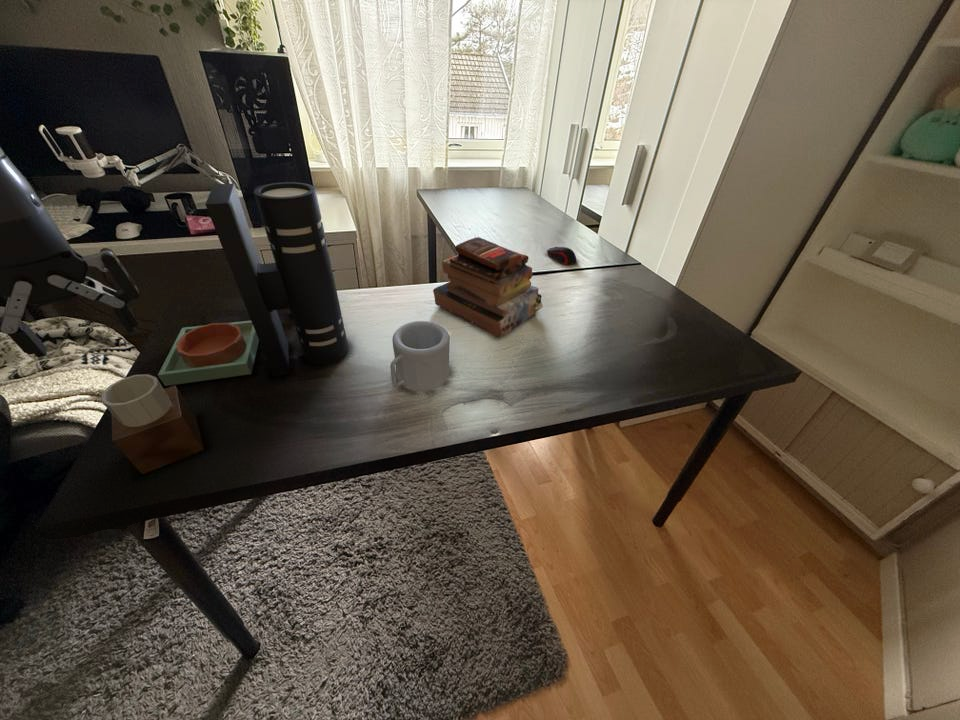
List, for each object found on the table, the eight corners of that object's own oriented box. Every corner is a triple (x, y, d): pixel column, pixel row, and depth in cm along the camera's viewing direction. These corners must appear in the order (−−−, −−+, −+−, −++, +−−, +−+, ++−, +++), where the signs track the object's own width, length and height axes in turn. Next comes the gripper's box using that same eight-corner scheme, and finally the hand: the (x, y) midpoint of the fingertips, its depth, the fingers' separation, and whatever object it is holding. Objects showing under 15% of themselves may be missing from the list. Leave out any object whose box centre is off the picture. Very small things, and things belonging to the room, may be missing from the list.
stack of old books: (543, 314, 98) (555, 252, 87) (502, 344, 86) (510, 277, 76) (476, 284, 108) (480, 225, 97) (432, 307, 97) (430, 243, 86)
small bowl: (120, 433, 52) (101, 411, 49) (118, 406, 56) (101, 384, 53) (173, 415, 55) (158, 393, 52) (169, 390, 59) (155, 369, 56)
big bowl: (188, 377, 71) (180, 362, 69) (181, 347, 78) (173, 333, 76) (252, 357, 77) (246, 343, 74) (240, 331, 83) (234, 317, 81)
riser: (142, 474, 56) (111, 441, 51) (139, 439, 61) (111, 405, 56) (204, 449, 60) (181, 416, 55) (196, 418, 65) (175, 385, 60)
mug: (421, 351, 83) (419, 313, 76) (460, 372, 78) (461, 333, 72) (374, 384, 74) (368, 344, 67) (415, 409, 69) (412, 368, 63)
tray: (251, 374, 74) (246, 363, 72) (164, 386, 70) (157, 375, 68) (261, 330, 85) (257, 319, 84) (187, 338, 82) (181, 327, 80)
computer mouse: (557, 250, 131) (560, 239, 128) (579, 262, 124) (582, 251, 121) (544, 253, 128) (546, 242, 126) (565, 266, 121) (568, 254, 119)
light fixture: (351, 362, 79) (317, 198, 58) (273, 377, 74) (205, 204, 53) (345, 334, 86) (313, 179, 65) (273, 346, 81) (213, 183, 60)
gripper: (83, 190, 43) (153, 310, 53) (-116, 210, 35) (10, 346, 46) (86, 209, 39) (161, 336, 49) (-139, 236, 31) (6, 379, 41)
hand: (88, 341), depth 47 cm, fingers open, 8 cm apart
